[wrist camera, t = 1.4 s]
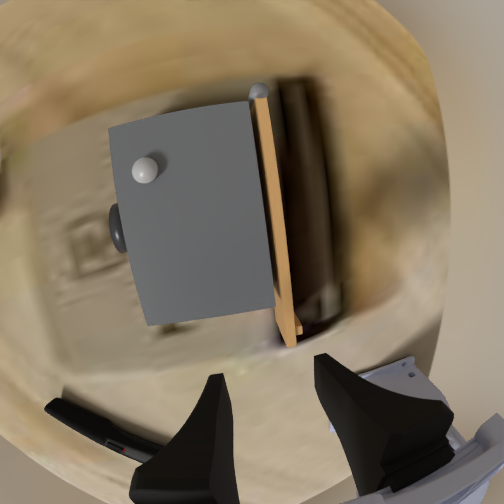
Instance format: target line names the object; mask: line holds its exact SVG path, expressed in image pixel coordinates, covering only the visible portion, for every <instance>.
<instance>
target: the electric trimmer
mask: <svg viewBox="0 0 504 504" xmlns="http://www.w3.org/2000/svg"><path fill="white" fill-rule="evenodd" d="M44 410H45V411H46V412H47V413H48V414H50V415H51V416H53V417H54V418H56V419H57V420H59V421H61V422H62V423H64V424H65V425H67V426H69V427H70V428H72V429H74V430H75V431H77V432H79V433H81V434H82V435H84V436H86V437H88V438H89V439H91V440H93V441H95V442H97V443H99V444H100V445H103V446H105V447H107V448H109V449H111V450H113V451H115V452H117V453H119V454H122V455H124V456H126V457H128V458H131V459H133V460H136V461H138V462H140V463H145V462H146V461H148V460H149V459H151V458H152V457H153V456H154V455H156V454H157V453H158V452H159V451H160V450H161V449H162V448H164V447H161V446H158V445H155V444H153V443H150V442H148V441H145V440H142V439H140V438H138V437H135V436H133V435H130V434H128V433H126V432H124V431H121V430H119V429H117V428H115V427H114V426H113V425H112V424H111V422H110V421H109V420H107V419H104V418H102V417H100V416H97V415H95V414H93V413H91V412H88V411H86V410H84V409H82V408H79V407H77V406H75V405H73V404H71V403H69V402H67V401H65V400H63V399H61V398H55V399H53V400H52V401H51V402H49V403H48V404H47V405H46V406H45V408H44Z"/></svg>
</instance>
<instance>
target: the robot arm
mask: <svg viewBox="0 0 504 504" xmlns="http://www.w3.org/2000/svg"><path fill="white" fill-rule="evenodd" d="M414 361H415V358H414V357H413V356H409V357H407V358H404V359H402V360H399V361H396V362H394V363H391V364H388V365H386V366H383V367H380V368H377V369H374V370H371V371H368V372H365V373H362V374H359V375H357V374H355V373H354V372H352V371H351V370H349V369H348V368H346V367H345V366H343V365H342V364H340V363H339V362H338V361H336V360H335V359H334V358H332V357H331V356H330V355H328V354H327V353H324V354H320V355H316V356H314V380H315V389H316V392H317V395H318V397H319V400H320V403H321V405H322V407H323V409H324V411H325V412H326V414H327V416H328V418H329V420H330V431H331V432H333V433H334V432H336V433H337V435H338V437H339V439H340V441H341V444H342V447H343V449H344V452H345V454H346V457H347V460H348V463H349V466H350V468H351V471H352V474H353V478H354V481H355V484H356V487H357V492H356V498H355V499H353V500H350V501H347V502H344V503H341V504H481V502H482V500H483V498H484V496H485V494H486V491H487V489H488V486H489V484H490V478H491V477H493V476H494V475H495V474H496V473H497V472H498V471H499V470H500V469H501V468H502V467H503V466H504V419H503V418H502V417H501V416H500V415H499V414H498V413H496V414H495V415H493V416H492V417H491V418H490V419H488V420H487V421H486V422H485V423H483V424H482V425H481V426H480V428H479V429H478V430H477V432H476V434H475V436H474V437H473V438H472V439H471V440H469V441H468V442H466V441H465V439H464V438H463V437H462V436H461V435H460V433H459V432H458V431H457V430H456V429H455V428H454V427H453V425H452V422H453V419H454V413H453V412H452V411H451V410H450V408H449V405H448V402H447V400H446V398H445V396H444V395H443V394H442V392H441V391H440V390H439V389H438V388H437V387H436V386H435V385H434V384H433V383H432V382H431V381H430V380H429V379H428V378H427V377H426V376H425V375H424V374H423V373H422V372H421V371H420V370H419V369H418V368H417V367H416V366H415V365H414ZM129 498H130V499H131V500H132V501H133V502H134V503H135V504H240V502H239V496H238V490H237V483H236V476H235V469H234V458H233V414H232V406H231V401H230V397H229V393H228V390H227V386H226V382H225V378H224V375H223V373H220V374H213V375H210V376H209V377H208V380H207V383H206V385H205V388H204V390H203V392H202V394H201V396H200V398H199V400H198V402H197V404H196V406H195V408H194V410H193V411H192V413H191V415H190V416H189V418H188V419H187V421H186V422H185V424H184V425H183V426H182V428H181V429H180V430H179V432H178V433H177V434H176V435H175V436H174V437H173V438H172V440H171V441H170V442H169V443H168V444H167V445H166V446H165V447H164V448H162V449H161V450H160V451H159V452H158V453H157V454H156V455H154V456H153V457H152V458H151V459H149V460H148V461H146V462H145V463H143V464H142V465H140V466H139V467H137V468H136V469H135V472H134V474H133V477H132V480H131V485H130V491H129Z"/></svg>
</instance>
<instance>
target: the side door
mask: <svg viewBox="0 0 504 504" xmlns="http://www.w3.org/2000/svg"><path fill="white" fill-rule="evenodd" d="M268 94H269V88H268V87H267V85H265V84H264V83H256V84H254V85H253V86H252V87H251V90H250V93H249V96H248V99H247V101H248V102H249V109H250V116H251V122H252V129H253V136H254V143H255V150H256V156H257V163H258V171H259V178H260V185H261V192H262V200H263V207H264V214H265V222H266V230H267V237H268V245H269V253H270V261H271V269H272V277H273V285H274V293H275V302H276V307H274V308H275V316H276V321H277V324H278V326H279V329H280V331H281V333H282V336H283V338H284V341H285V343H286V345H287V348H289V347H293V346H296V335H299V334H302V325H301V323H300V322H299V320H298V318H297V316H296V315H295V313H294V310H293V299H292V289H291V279H290V269H289V259H288V250H287V241H286V232H285V224H284V216H283V207H282V200H281V192H280V184H279V177H278V169H277V162H276V155H275V148H274V141H273V135H272V128H271V121H270V115H269V109H268V103H267V96H268Z"/></svg>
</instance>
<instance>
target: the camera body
mask: <svg viewBox="0 0 504 504" xmlns="http://www.w3.org/2000/svg"><path fill="white" fill-rule="evenodd" d="M108 130H109V141H110V151H111V160H112V168H113V176H114V183H115V189H116V196H117V202H118V203H116V204H113V205H112V207H111V209H110V213H109V228H110V234H111V238H112V241H113V243H114V245H115V247H116V249H117V250H118V251H119V252H120V253H126V252H128V256H129V261H130V265H131V269H132V273H133V277H134V281H135V284H136V288H137V292H138V295H139V299H140V302H141V306H142V309H143V313H144V316H145V319H146V322H147V325H148V326H151V325H160V324H168V323H176V322H184V321H191V320H198V319H205V318H212V317H218V316H225V315H231V314H237V313H243V312H249V311H255V310H261V309H266V308H272V307H276V302H275V293H274V285H273V277H272V269H271V261H270V253H269V245H268V237H267V230H266V222H265V214H264V207H263V200H262V192H261V185H260V178H259V171H258V163H257V156H256V150H255V143H254V136H253V129H252V122H251V116H250V109H249V102H248V101H241V102H232V103H224V104H217V105H210V106H204V107H198V108H192V109H186V110H181V111H176V112H171V113H166V114H162V115H157V116H153V117H149V118H144V119H140V120H137V121H133V122H129V123H125V124H122V125H118V126H115V127H111V128H108Z"/></svg>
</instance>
